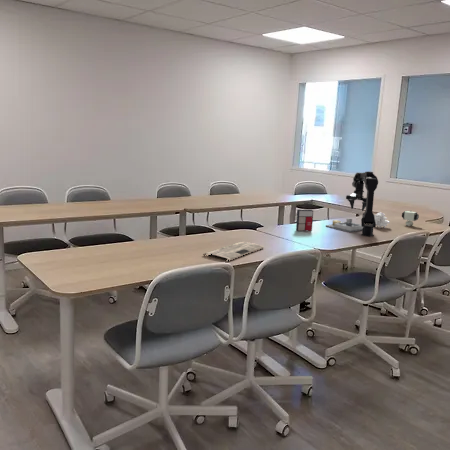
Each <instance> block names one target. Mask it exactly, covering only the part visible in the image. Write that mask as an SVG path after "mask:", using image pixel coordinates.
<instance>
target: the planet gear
mask: <svg viewBox="0 0 450 450" xmlns="http://www.w3.org/2000/svg"><path fill="white" fill-rule="evenodd" d="M345 222H346V224H345V225H344V224H342V225H344V226H349V227H354V225H352V223H353V218H346V221H345Z"/></svg>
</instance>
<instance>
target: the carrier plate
mask: <svg viewBox="0 0 450 450" xmlns="http://www.w3.org/2000/svg"><path fill="white" fill-rule="evenodd" d="M342 224H344V225H345V224H346V221H343V222H342V221H340V220H332V224H326V225H325V227H326V228H330V229H334V230H339V231H343V232H347V233H355V232H359V231H362V229H363V227H362V225H361V223H354V222H352V225H354V227H349V226H344V225H342ZM354 231H355V232H354Z"/></svg>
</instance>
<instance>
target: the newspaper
mask: <svg viewBox="0 0 450 450" xmlns="http://www.w3.org/2000/svg"><path fill="white" fill-rule="evenodd" d="M262 248H263V249H264V248H265V247H264V246H263V245H261V244H257V243H254V242H253V243H252V242H249V241H248V242H247V241H239V242H236V243H233V244H230V245H227V246H224V247H220V248H218V249H215V250H212V251H208V252H205V253H203V254H202V256H203V255H206V254H212V255H211V256H215V257H216V256H217V257H221V258H225V259H228V260H229V262H231V261H230V260H232V261H234V260H236V259H235V258H237V259H239V258H238V257H240V256H242V257H244V256H243V255H245V254H248V253H250V254H252V253H251V252H253V253H255V252H254V251H256V252H258V251H260V249H261V250H263V249H262ZM257 250H258V251H257ZM248 255H249V254H248ZM245 256H246V255H245ZM240 258H241V257H240ZM233 259H234V260H233Z"/></svg>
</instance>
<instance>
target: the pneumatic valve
mask: <svg viewBox="0 0 450 450" xmlns="http://www.w3.org/2000/svg"><path fill="white" fill-rule="evenodd" d="M419 217H420V216H419V214H418V212H417V211H412V210H409V211H408V210H405V211H403V212H402V213H401V218H402V220H406V221H405V226H407V227H412V226H414V222H415V221H417V220H419Z"/></svg>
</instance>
